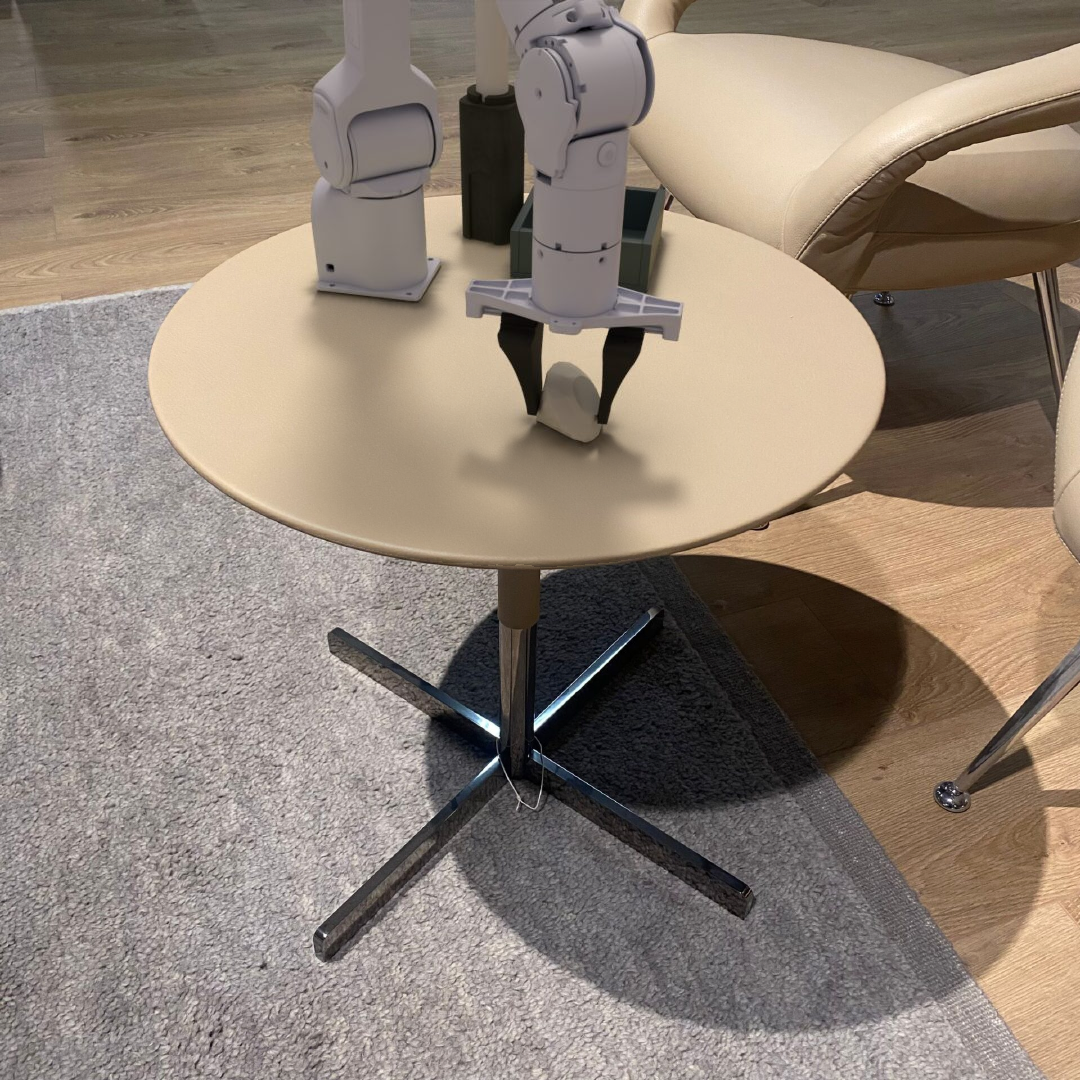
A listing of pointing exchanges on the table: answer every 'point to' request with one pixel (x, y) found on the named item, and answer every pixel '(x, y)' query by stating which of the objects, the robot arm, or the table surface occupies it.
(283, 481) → the table surface
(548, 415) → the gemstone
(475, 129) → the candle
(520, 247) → the bin
